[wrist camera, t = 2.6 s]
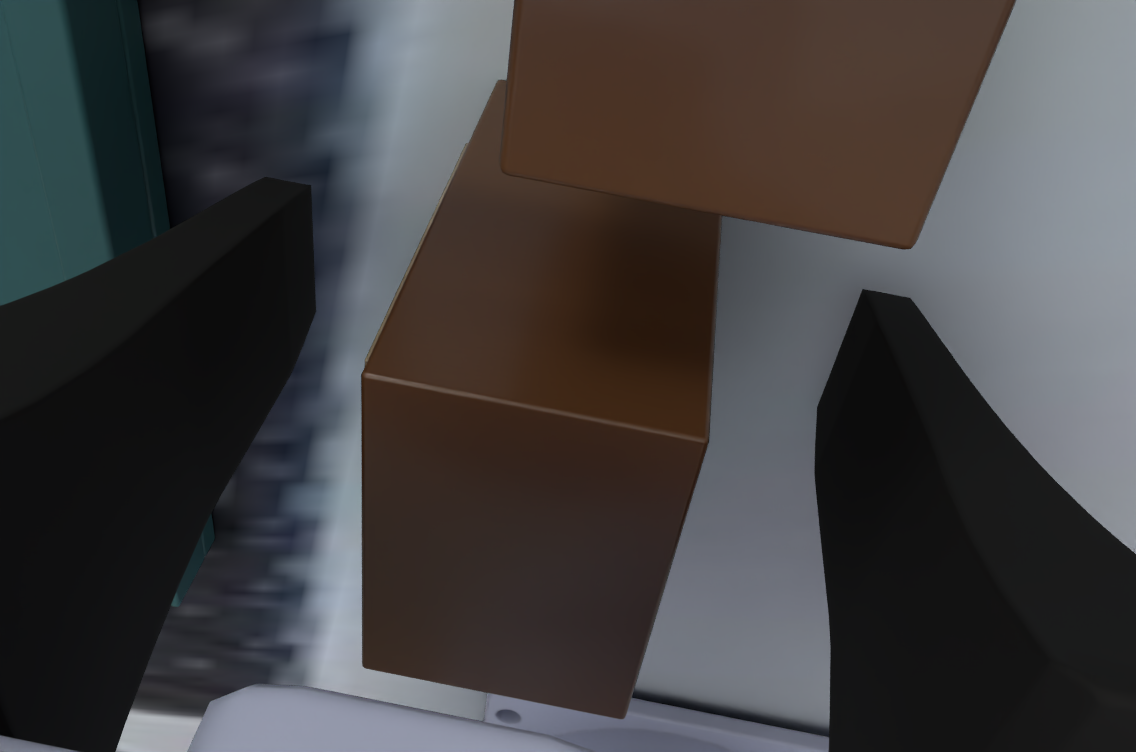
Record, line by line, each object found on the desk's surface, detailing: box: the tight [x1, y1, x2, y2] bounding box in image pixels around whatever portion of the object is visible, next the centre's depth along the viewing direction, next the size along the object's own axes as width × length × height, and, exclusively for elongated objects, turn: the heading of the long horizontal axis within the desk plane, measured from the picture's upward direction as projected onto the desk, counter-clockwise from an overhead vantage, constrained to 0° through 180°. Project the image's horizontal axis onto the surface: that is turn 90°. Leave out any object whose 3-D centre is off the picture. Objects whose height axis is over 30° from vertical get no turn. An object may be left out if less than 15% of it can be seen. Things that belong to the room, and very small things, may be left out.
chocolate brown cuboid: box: [361, 80, 722, 720], centre depth 12 cm, size 4×3×6 cm
